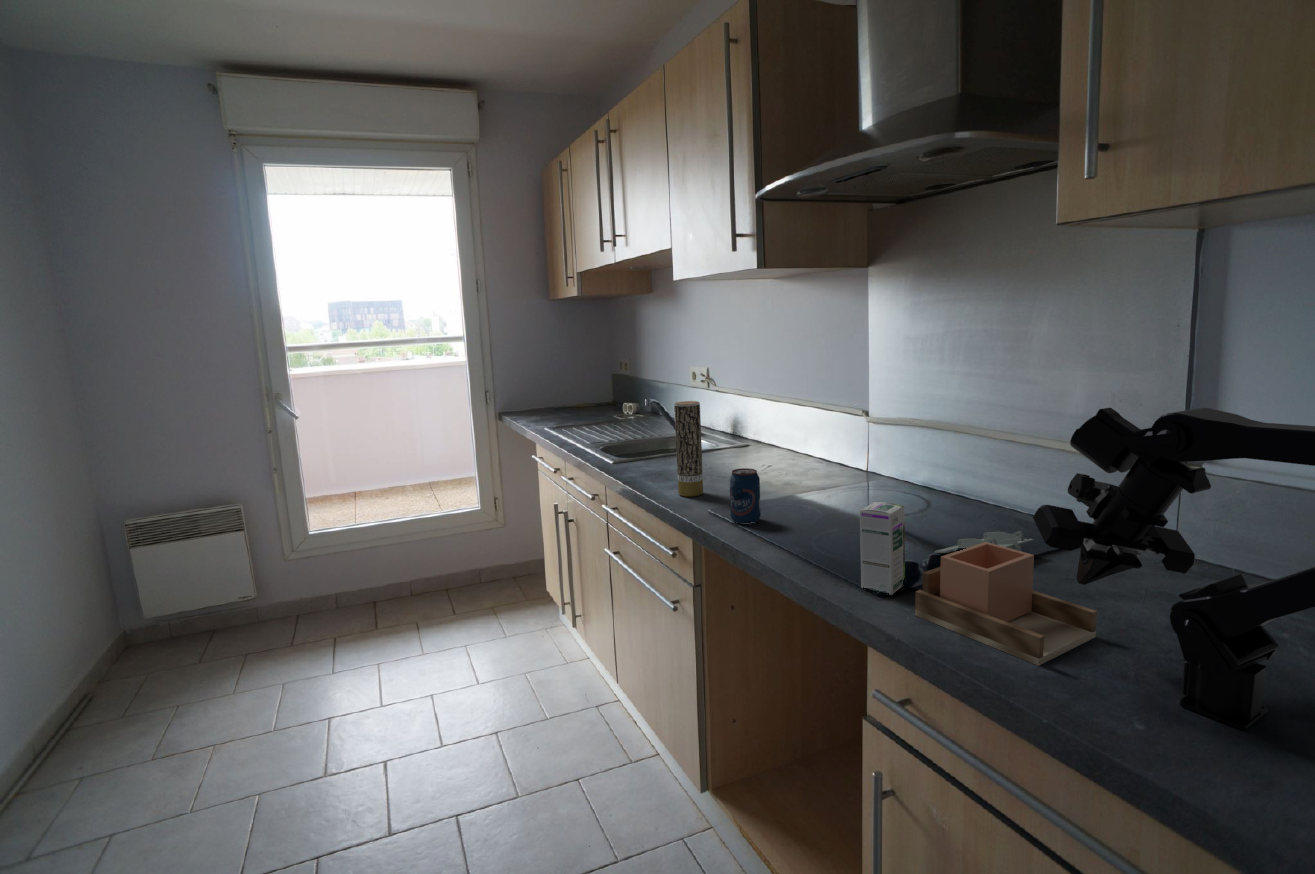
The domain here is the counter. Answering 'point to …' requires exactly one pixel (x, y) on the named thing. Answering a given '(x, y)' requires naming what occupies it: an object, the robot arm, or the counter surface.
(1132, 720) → the counter surface
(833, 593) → the counter surface
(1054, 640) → the wooden bay
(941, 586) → the box
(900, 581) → the syrup box
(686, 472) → the paper tube
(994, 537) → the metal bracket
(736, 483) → the soda can
